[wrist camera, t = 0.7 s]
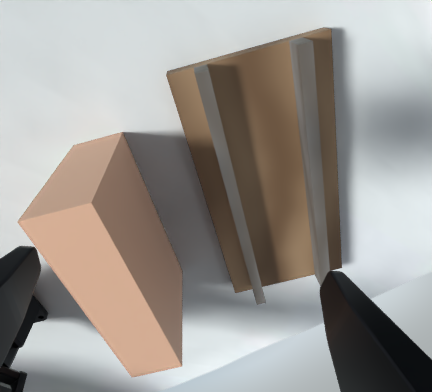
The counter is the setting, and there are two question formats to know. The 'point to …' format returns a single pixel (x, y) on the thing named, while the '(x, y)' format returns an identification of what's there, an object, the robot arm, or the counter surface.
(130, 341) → the door panel
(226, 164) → the door track
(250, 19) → the counter surface
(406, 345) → the robot arm
